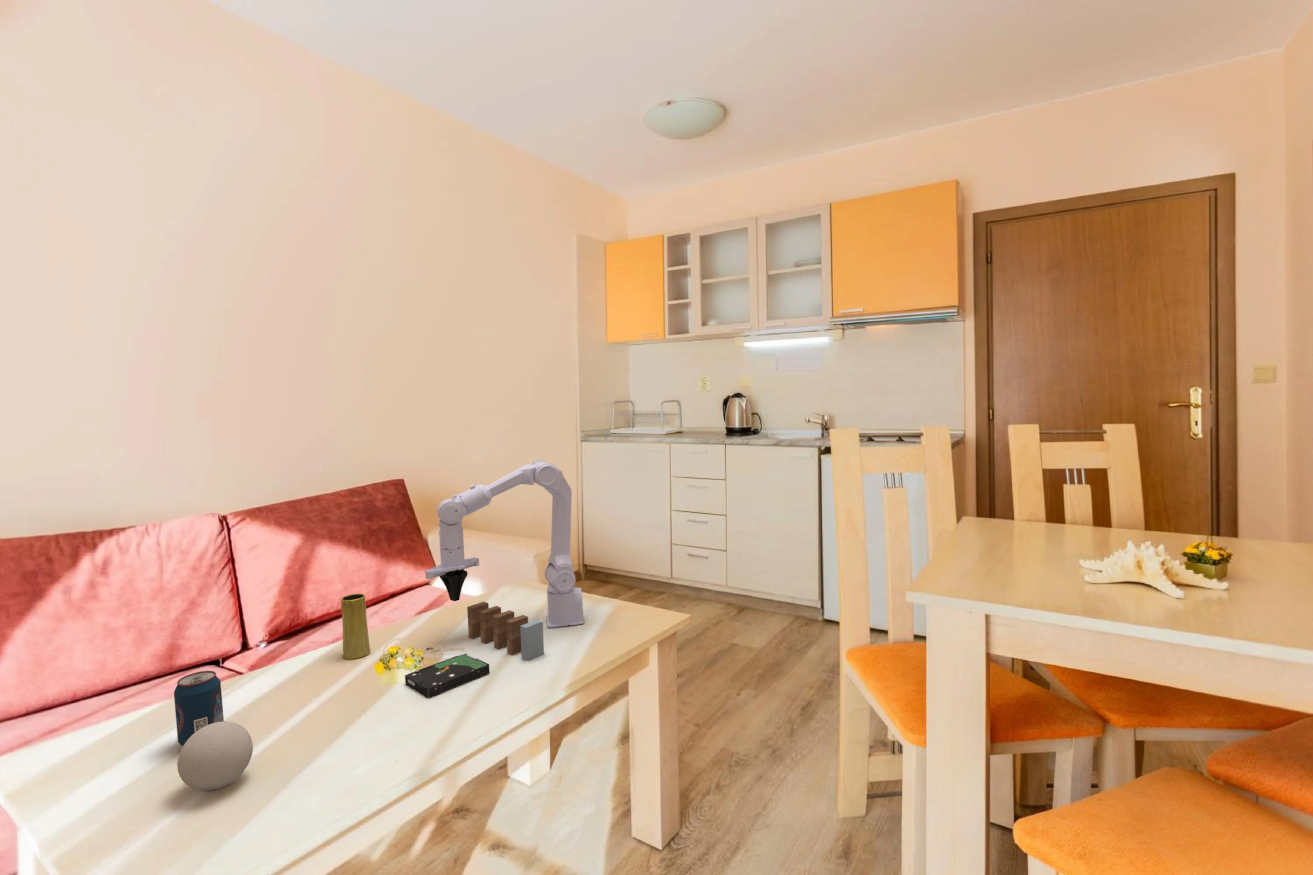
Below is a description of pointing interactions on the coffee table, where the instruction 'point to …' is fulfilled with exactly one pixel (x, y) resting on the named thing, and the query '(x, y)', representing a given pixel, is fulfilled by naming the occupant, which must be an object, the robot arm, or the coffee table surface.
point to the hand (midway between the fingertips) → (454, 599)
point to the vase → (354, 626)
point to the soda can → (197, 703)
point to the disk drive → (446, 675)
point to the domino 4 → (532, 640)
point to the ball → (215, 756)
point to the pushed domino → (475, 619)
